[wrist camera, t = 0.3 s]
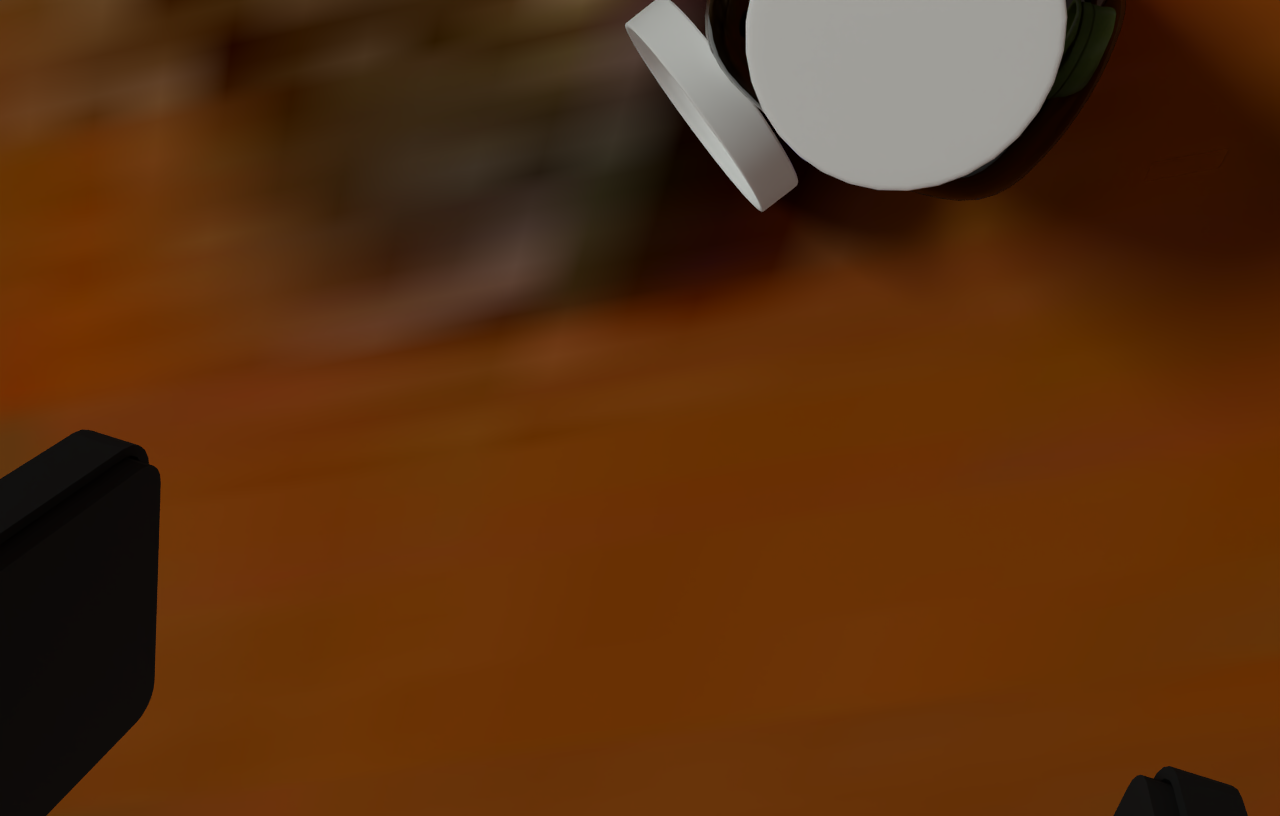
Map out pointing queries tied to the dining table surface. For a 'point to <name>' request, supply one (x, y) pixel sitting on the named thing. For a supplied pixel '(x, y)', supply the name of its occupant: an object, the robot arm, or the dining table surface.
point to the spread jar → (880, 86)
